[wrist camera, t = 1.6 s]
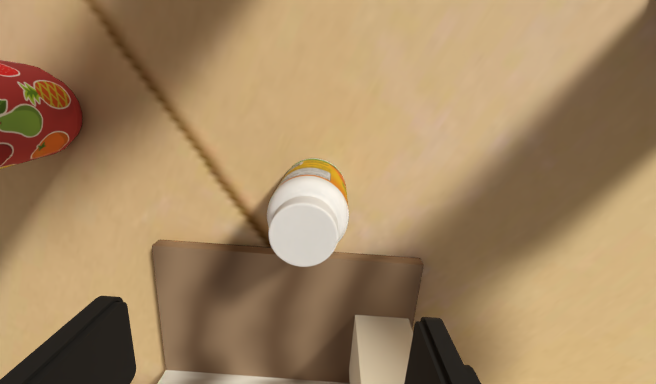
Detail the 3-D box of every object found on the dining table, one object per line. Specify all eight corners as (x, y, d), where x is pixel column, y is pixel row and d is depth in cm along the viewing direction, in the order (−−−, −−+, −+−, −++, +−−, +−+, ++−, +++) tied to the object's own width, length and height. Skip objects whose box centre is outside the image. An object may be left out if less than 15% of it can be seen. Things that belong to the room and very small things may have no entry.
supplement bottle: (341, 220, 28) (344, 283, 18) (281, 213, 28) (253, 273, 18) (349, 160, 26) (357, 196, 17) (285, 153, 26) (257, 185, 17)
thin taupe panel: (419, 258, 28) (429, 277, 25) (397, 384, 33) (404, 414, 30) (159, 239, 29) (137, 257, 25) (172, 368, 33) (156, 396, 30)
